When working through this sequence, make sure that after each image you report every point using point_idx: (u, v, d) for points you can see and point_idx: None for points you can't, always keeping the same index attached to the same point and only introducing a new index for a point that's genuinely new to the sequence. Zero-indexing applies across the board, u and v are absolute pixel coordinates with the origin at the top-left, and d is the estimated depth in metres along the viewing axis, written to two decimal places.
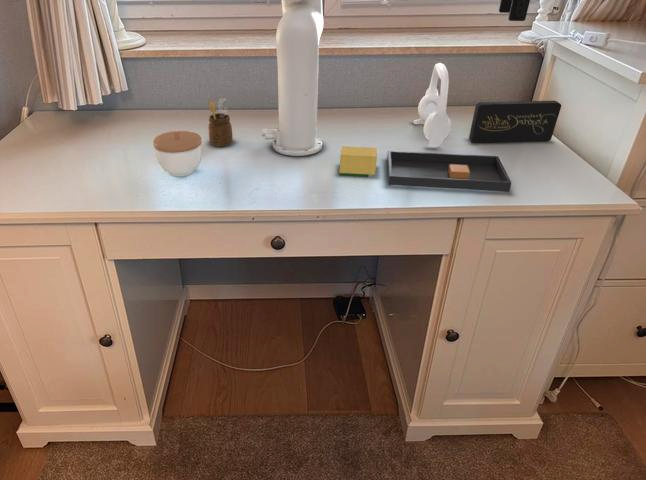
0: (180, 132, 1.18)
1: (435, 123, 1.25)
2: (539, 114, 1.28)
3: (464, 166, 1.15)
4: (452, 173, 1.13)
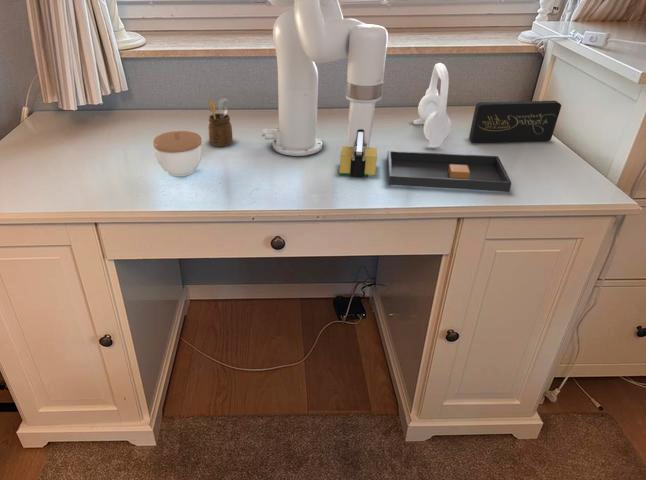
0: (180, 132, 1.18)
1: (435, 123, 1.25)
2: (539, 114, 1.28)
3: (464, 166, 1.15)
4: (452, 173, 1.13)
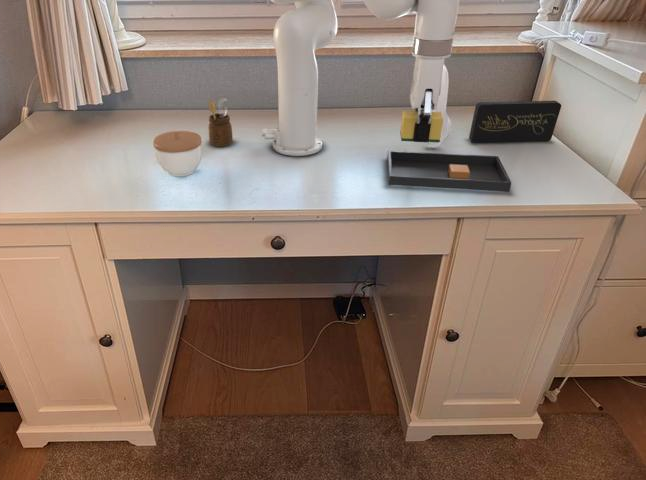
0: (180, 132, 1.18)
1: None
2: (539, 114, 1.28)
3: (464, 166, 1.15)
4: (452, 173, 1.13)
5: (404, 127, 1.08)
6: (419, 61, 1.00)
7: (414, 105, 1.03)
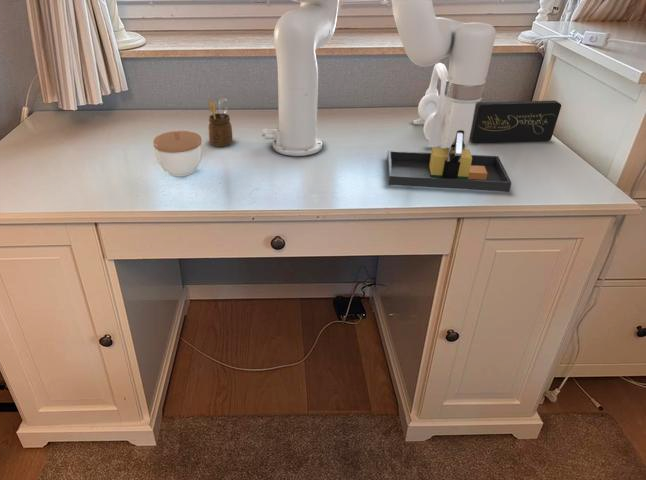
0: (180, 132, 1.18)
1: (435, 123, 1.25)
2: (539, 114, 1.28)
3: (481, 167, 1.15)
4: (469, 174, 1.13)
5: (434, 164, 1.12)
6: (452, 104, 1.03)
7: (445, 145, 1.07)
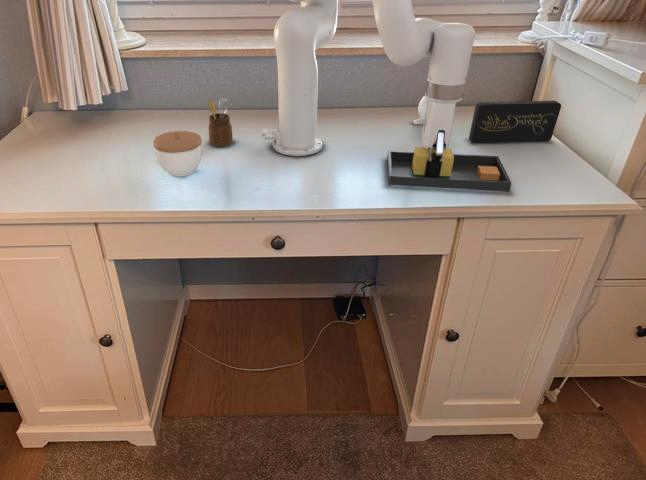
0: (180, 132, 1.18)
1: None
2: (539, 114, 1.28)
3: (493, 168, 1.14)
4: (482, 175, 1.12)
5: (416, 164, 1.13)
6: (432, 104, 1.04)
7: (427, 145, 1.08)
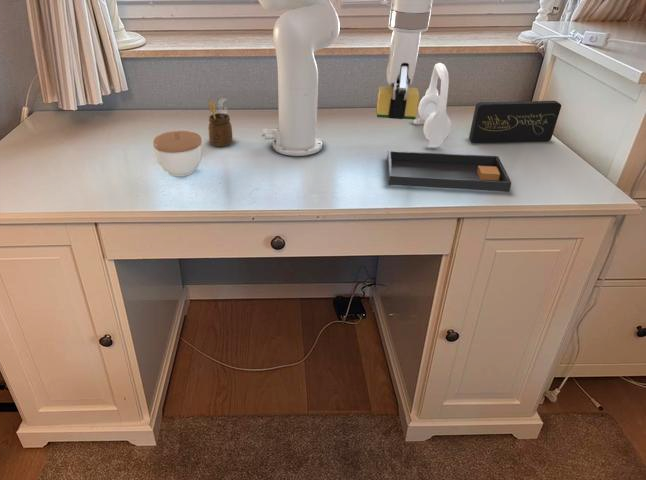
0: (180, 132, 1.18)
1: (435, 123, 1.25)
2: (539, 114, 1.28)
3: (493, 168, 1.14)
4: (482, 175, 1.12)
5: (380, 103, 1.06)
6: (395, 34, 0.98)
7: (390, 80, 1.01)
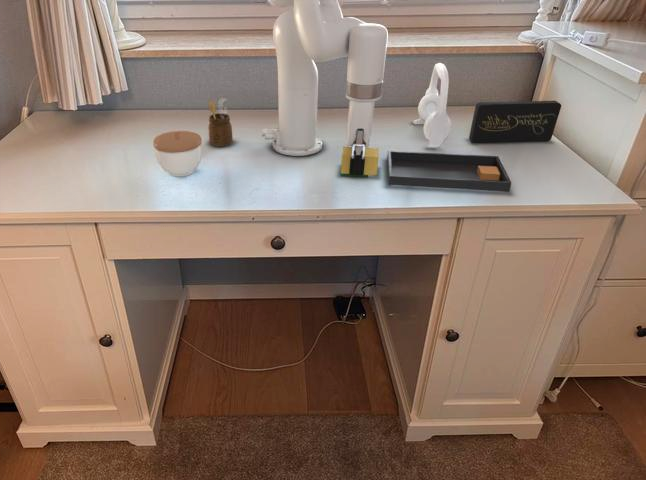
0: (180, 132, 1.18)
1: (435, 123, 1.25)
2: (539, 114, 1.28)
3: (493, 168, 1.14)
4: (482, 175, 1.12)
5: (343, 163, 1.15)
6: (351, 103, 1.06)
7: (347, 143, 1.10)
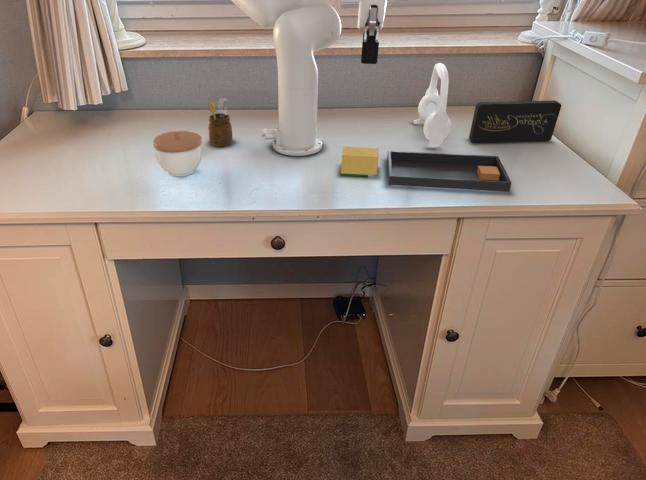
0: (180, 132, 1.18)
1: (435, 123, 1.25)
2: (539, 114, 1.28)
3: (493, 168, 1.14)
4: (482, 175, 1.12)
5: (343, 163, 1.15)
6: None
7: (359, 24, 0.99)
